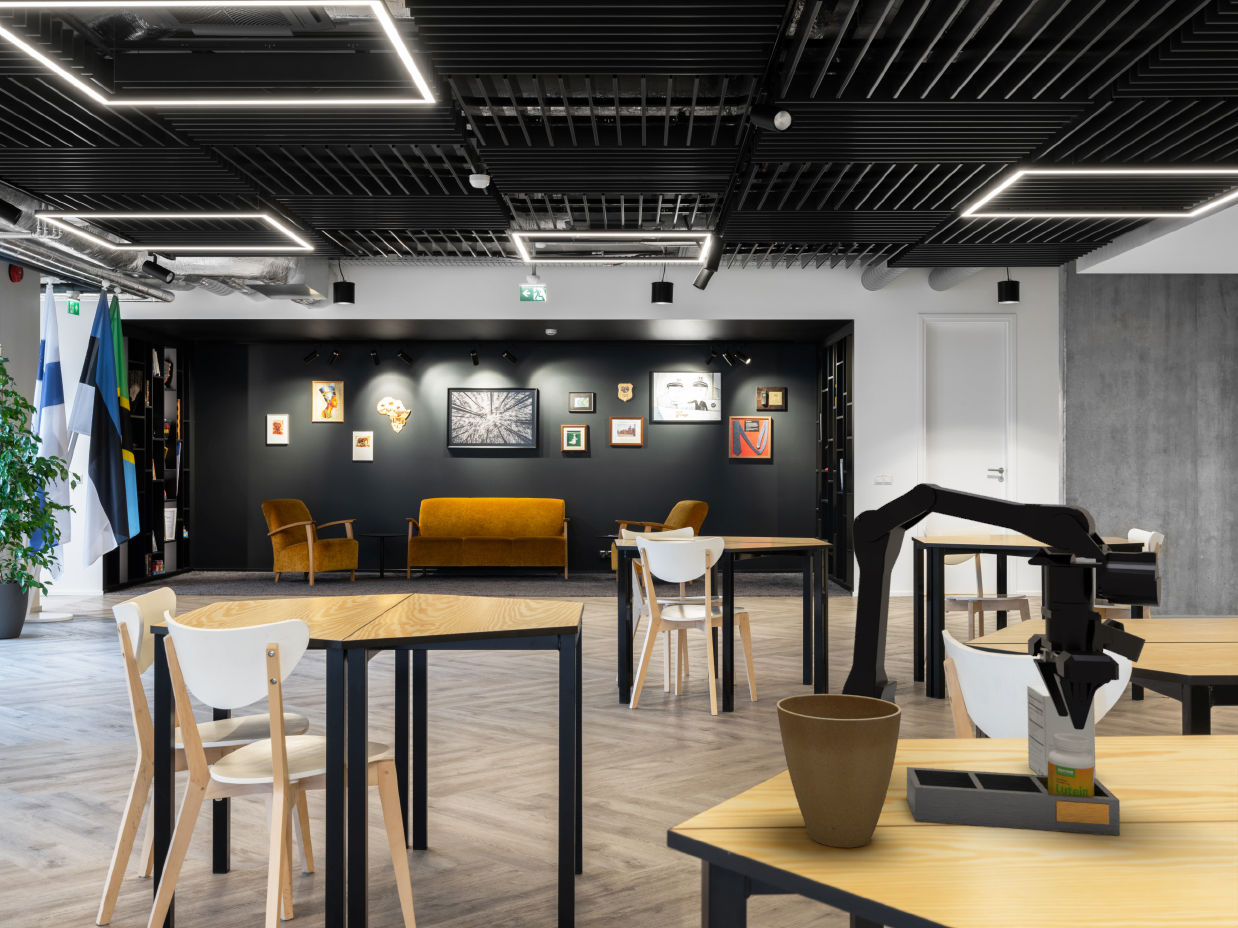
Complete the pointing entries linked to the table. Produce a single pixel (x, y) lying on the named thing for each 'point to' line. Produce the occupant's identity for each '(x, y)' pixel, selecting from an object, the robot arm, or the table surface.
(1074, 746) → the supplement bottle
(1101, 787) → the compartment organizer tray
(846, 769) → the plant pot
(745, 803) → the table surface
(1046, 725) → the supplement box
